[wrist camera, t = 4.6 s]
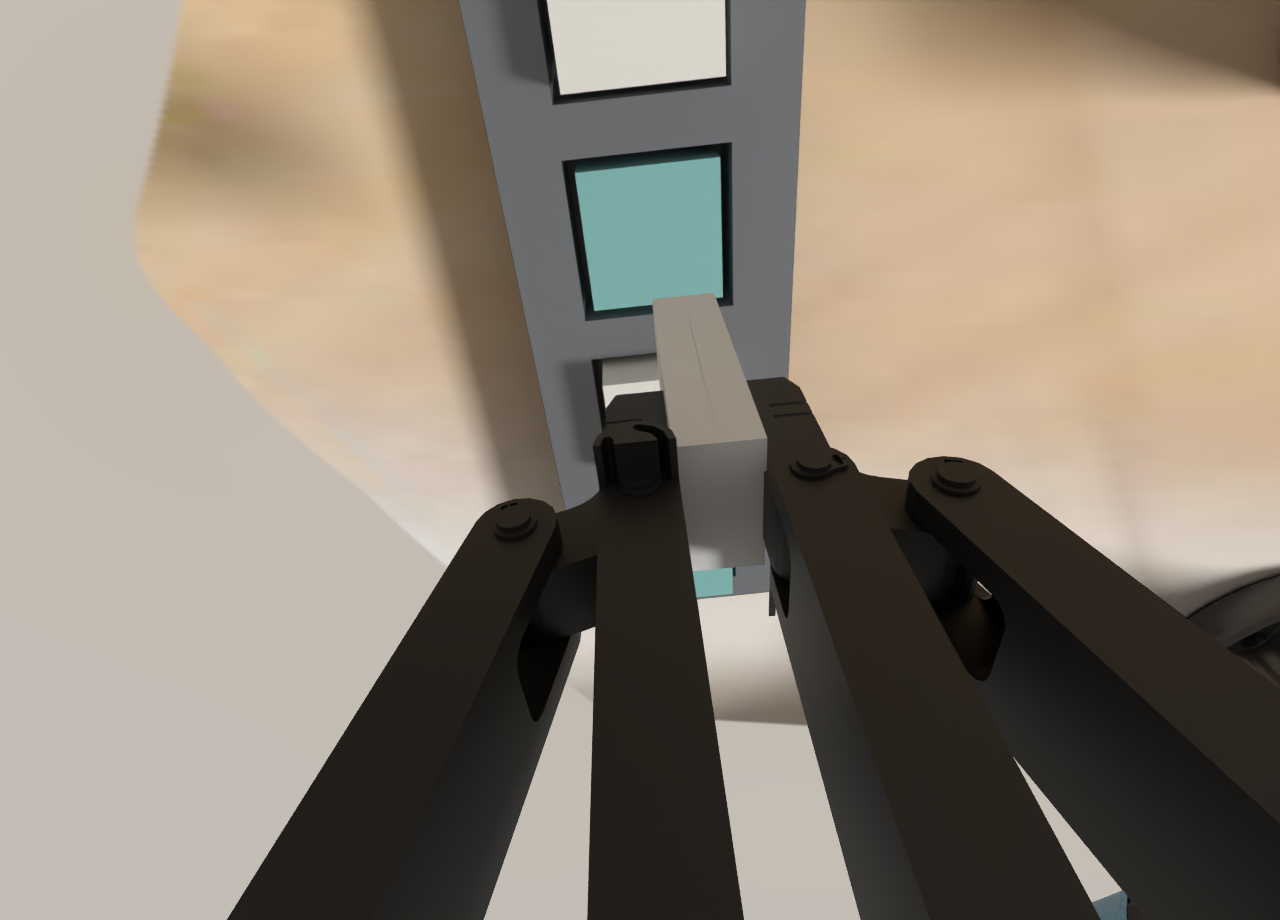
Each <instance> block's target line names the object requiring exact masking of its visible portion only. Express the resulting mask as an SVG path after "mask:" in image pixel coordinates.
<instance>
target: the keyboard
mask: <svg viewBox="0 0 1280 920" xmlns="http://www.w3.org/2000/svg"><path fill="white" fill-rule="evenodd" d="M459 3H460V8H461V12H462V17H463V22H464V27H465V32H466V36H467V41H468V46H469V51H470V55H471V60H472V65H473V70H474V75H475V79H476V84H477V89H478V94H479V99H480V103H481V108H482V113H483V118H484V123H485V127H486V132H487V137H488V142H489V146H490V151H491V156H492V161H493V166H494V170H495V175H496V180H497V185H498V190H499V194H500V199H501V204H502V209H503V213H504V218H505V223H506V228H507V233H508V237H509V242H510V247H511V252H512V257H513V261H514V266H515V271H516V276H517V280H518V285H519V290H520V295H521V300H522V304H523V309H524V314H525V319H526V324H527V328H528V333H529V338H530V343H531V348H532V352H533V357H534V362H535V367H536V371H537V376H538V381H539V386H540V391H541V395H542V400H543V405H544V410H545V415H546V419H547V424H548V429H549V434H550V438H551V443H552V448H553V453H554V458H555V462H556V467H557V472H558V477H559V482H560V486H561V491H562V496H563V501H564V505H565V510H568V509H571V508H573V507H576V506H578V505H581V504H583V503H584V502H586V501H588V500H589V499H591V498H592V497H593V496H594V495H595V494H596V493H597V492H598V491H599V483H598V477H597V471H596V465H595V459H594V452H593V444H594V441H595V439H596V437H597V436H598V435H599V434H600V433H602V432H603V431H604V430H605V428H606V407H605V400H604V393H603V358H612V357H621V356H631V355H640V354H650V353H657V350H656V338H655V327H654V315H653V305H645V306H636V307H627V308H617V309H608V310H599V311H594V305H593V298H592V291H591V284H590V277H589V269H588V262H587V255H586V248H585V241H584V234H583V227H582V220H581V213H580V206H579V199H578V192H577V185H576V178H575V169H576V163H577V159H583V158H592V157H601V156H610V155H619V154H628V153H637V152H646V151H655V150H664V149H673V148H682V147H691V146H700V145H709V144H710V145H711V146H712V147H713V148H714V150H715V151H716V152H717V154H718V155H719V156H720V170H721V224H722V277H723V297H720V298H716V300H717V303H718V306H719V308H720V311H721V314H722V316H723V319H724V322H725V325H726V327H727V330H728V333H729V335H730V338H731V341H732V344H733V346H734V349H735V352H736V354H737V357H738V360H739V363H740V365H741V368H742V371H743V373H744V376H745V379H746V380H755V379H765V378H775V377H785V378H786V379H788V373H789V351H790V329H791V308H792V286H793V265H794V243H795V222H796V200H797V179H798V157H799V136H800V114H801V93H802V71H803V49H804V28H805V6H806V0H725V37H726V76H724V77H715V78H706V79H697V80H688V81H679V82H670V83H662V84H653V85H644V86H635V87H626V88H617V89H608V90H599V91H590V92H581V93H572V94H564V95H560V88H559V81H558V74H557V67H556V60H555V53H554V46H553V39H552V32H551V25H550V18H549V11H548V4H547V0H459ZM732 574H733V594H725V595H715V596H705V597H697V599H704V598H714V597H724V596H734V595H744V594H754V593H764V592H769V589H770V560H769V557H768V553H767V550H766V546H765V565H755V566H744V567H733V568H732Z"/></svg>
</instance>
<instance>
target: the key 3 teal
mask: <svg viewBox="0 0 1280 920" xmlns="http://www.w3.org/2000/svg"><path fill="white" fill-rule="evenodd" d="M575 178H576V185H577V192H578V199H579V206H580V213H581V220H582V227H583V234H584V241H585V248H586V255H587V262H588V269H589V277H590V284H591V291H592V298H593V305H594V311H599V310H608V309H617V308H627V307H636V306H645V305H653V303H652V299H658V298H668V297H678V296H688V295H697V294H707V293H714V295H715V297H716V298H720V297H723V277H722V224H721V170H720V156H719V155H718V154H717V152H716V151H715V150H714V148H713V147H712V146H711V145H710V144H709V145H700V146H691V147H682V148H673V149H664V150H655V151H646V152H637V153H628V154H619V155H610V156H601V157H592V158H583V159H577V163H576V169H575Z"/></svg>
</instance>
